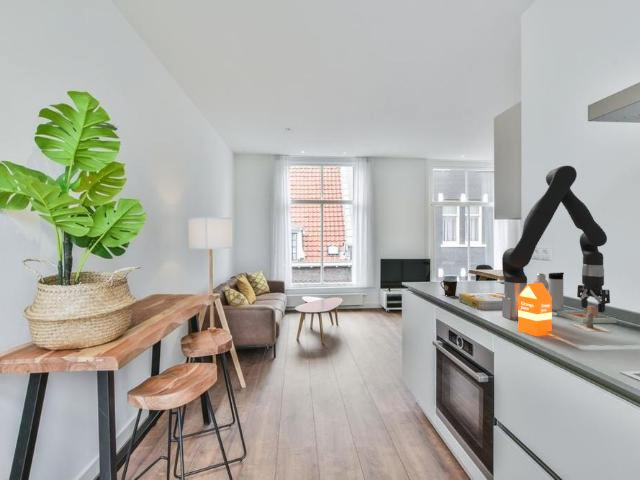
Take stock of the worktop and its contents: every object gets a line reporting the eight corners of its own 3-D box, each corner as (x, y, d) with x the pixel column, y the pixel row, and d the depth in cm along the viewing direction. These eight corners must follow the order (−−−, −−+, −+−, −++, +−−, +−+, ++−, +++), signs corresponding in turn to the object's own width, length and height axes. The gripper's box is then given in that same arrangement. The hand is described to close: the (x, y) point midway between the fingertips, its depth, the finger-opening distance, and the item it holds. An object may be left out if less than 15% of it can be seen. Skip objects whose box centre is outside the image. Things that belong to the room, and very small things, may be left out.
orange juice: (517, 330, 127) (518, 282, 127) (532, 328, 130) (532, 281, 130) (537, 336, 119) (537, 285, 119) (552, 333, 123) (552, 283, 122)
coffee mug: (459, 296, 198) (459, 281, 198) (446, 297, 198) (446, 281, 198) (452, 293, 209) (452, 279, 209) (439, 293, 210) (439, 279, 209)
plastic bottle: (550, 313, 155) (550, 273, 155) (548, 315, 150) (548, 275, 150) (534, 311, 159) (534, 272, 159) (532, 313, 154) (532, 274, 154)
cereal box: (458, 292, 184) (502, 291, 186) (458, 302, 184) (502, 301, 186) (478, 300, 163) (528, 299, 166) (478, 310, 164) (527, 309, 166)
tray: (582, 325, 133) (582, 318, 133) (556, 316, 148) (556, 310, 148) (616, 325, 133) (616, 318, 133) (587, 316, 148) (587, 310, 148)
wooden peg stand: (588, 334, 122) (588, 316, 122) (567, 326, 132) (568, 310, 132) (613, 334, 122) (613, 316, 121) (591, 326, 132) (591, 310, 131)
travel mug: (566, 312, 157) (566, 273, 157) (552, 311, 158) (552, 273, 158) (559, 309, 163) (559, 271, 163) (545, 308, 164) (545, 271, 164)
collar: (580, 321, 137) (580, 308, 137) (567, 317, 144) (567, 304, 144) (602, 321, 137) (602, 308, 137) (588, 317, 144) (588, 304, 144)
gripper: (571, 272, 147) (571, 306, 148) (598, 276, 133) (598, 313, 133) (587, 272, 147) (587, 306, 148) (616, 276, 133) (615, 313, 133)
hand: (592, 309), depth 140 cm, fingers open, 8 cm apart
